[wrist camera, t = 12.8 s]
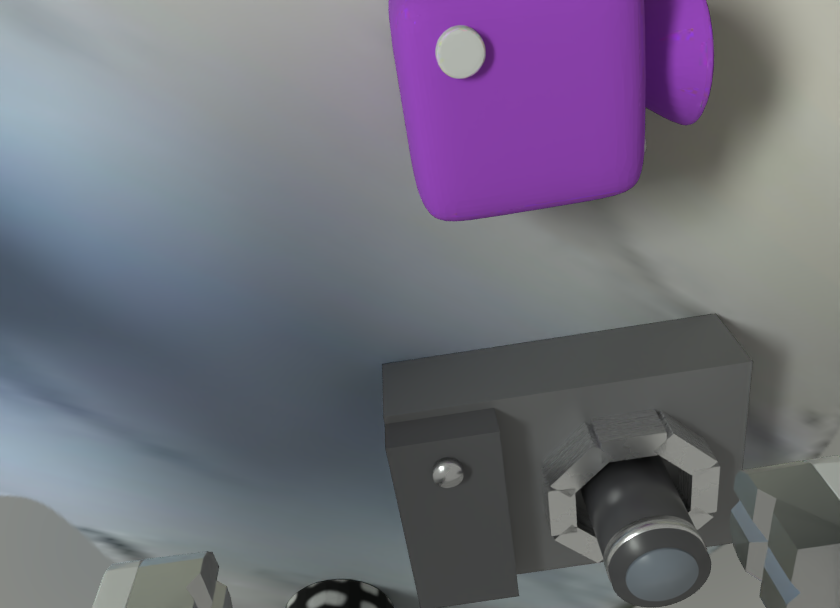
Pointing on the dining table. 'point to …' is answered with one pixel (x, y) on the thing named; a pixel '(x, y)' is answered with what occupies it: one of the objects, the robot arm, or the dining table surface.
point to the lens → (645, 533)
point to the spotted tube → (339, 596)
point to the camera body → (556, 446)
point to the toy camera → (541, 95)
